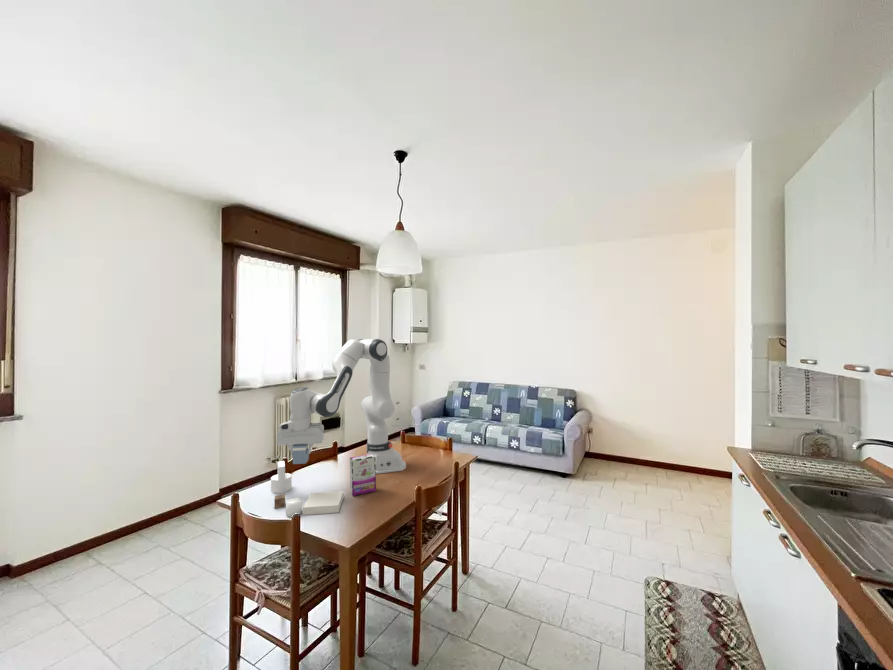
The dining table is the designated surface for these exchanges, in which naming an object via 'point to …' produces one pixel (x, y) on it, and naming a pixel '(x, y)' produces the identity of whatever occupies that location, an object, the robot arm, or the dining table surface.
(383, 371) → the robot arm
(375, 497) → the dining table surface
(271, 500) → the dining table surface
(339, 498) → the podium
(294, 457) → the carton
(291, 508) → the white rounded block
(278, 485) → the base with upright slab
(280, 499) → the walnut block
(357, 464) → the candy bar box
